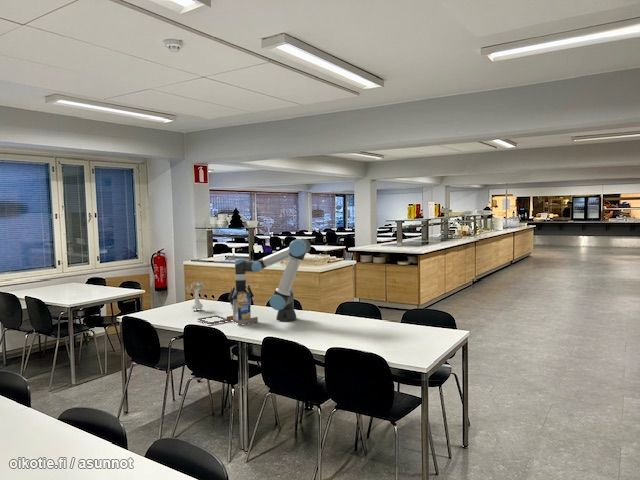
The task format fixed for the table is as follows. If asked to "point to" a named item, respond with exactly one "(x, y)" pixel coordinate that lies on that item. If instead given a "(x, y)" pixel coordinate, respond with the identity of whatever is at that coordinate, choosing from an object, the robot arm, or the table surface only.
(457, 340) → the table surface
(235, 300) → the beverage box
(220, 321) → the tray
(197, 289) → the flower vase
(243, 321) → the carton holder
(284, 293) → the robot arm
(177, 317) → the table surface
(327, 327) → the table surface
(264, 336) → the table surface
